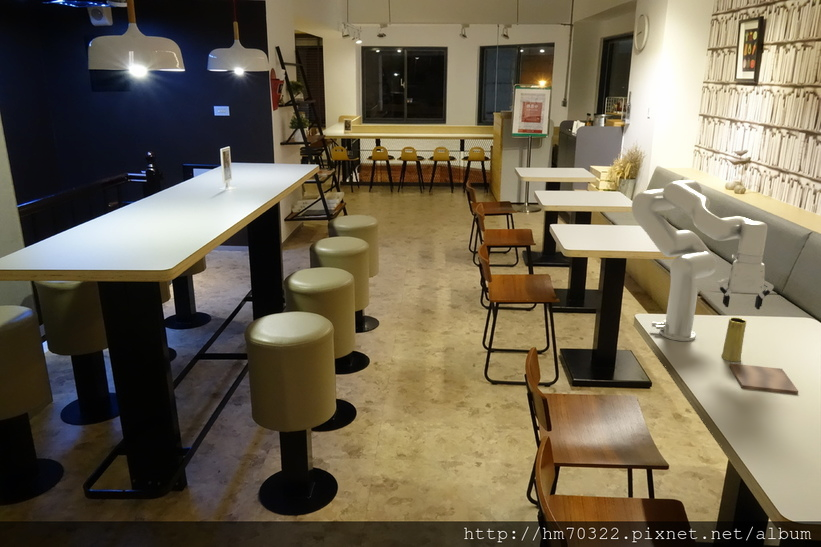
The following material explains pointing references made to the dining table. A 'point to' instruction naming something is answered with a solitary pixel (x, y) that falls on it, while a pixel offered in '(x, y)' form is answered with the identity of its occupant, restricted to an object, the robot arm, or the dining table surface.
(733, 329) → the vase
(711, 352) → the dining table surface
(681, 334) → the robot arm
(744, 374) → the coaster board
